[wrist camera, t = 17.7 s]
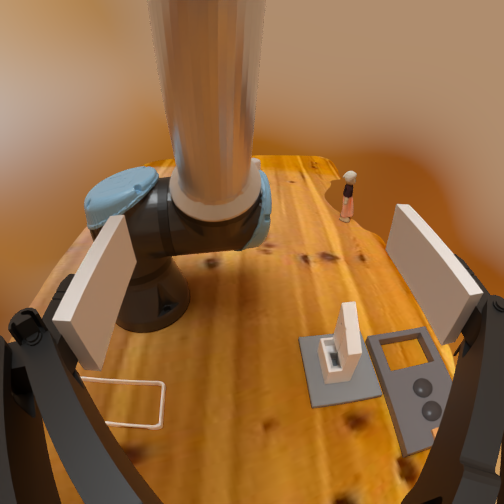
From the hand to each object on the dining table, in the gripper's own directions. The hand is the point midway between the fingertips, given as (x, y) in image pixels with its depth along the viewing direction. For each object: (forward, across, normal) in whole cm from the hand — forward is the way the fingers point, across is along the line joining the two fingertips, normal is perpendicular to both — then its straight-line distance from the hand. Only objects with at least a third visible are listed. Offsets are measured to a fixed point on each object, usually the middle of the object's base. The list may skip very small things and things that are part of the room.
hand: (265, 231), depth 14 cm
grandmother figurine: (+54, +26, -30) cm, 67 cm away
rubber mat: (+11, +12, -30) cm, 34 cm away
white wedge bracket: (+11, +11, -30) cm, 33 cm away
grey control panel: (+5, +23, -30) cm, 38 cm away
